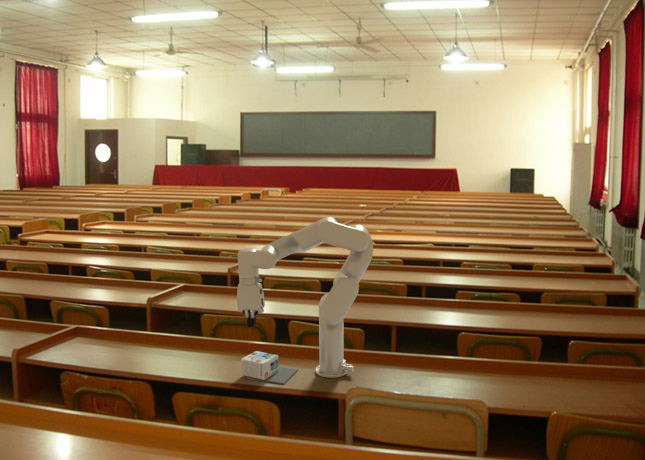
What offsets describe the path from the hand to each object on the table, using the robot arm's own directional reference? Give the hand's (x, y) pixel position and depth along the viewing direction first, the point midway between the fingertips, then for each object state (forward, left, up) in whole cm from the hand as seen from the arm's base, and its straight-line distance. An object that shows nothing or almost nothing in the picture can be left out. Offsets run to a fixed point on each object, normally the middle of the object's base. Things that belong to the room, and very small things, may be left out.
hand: (251, 326), depth 242 cm
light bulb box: (+2, +1, -15) cm, 15 cm away
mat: (-8, 0, -19) cm, 20 cm away
